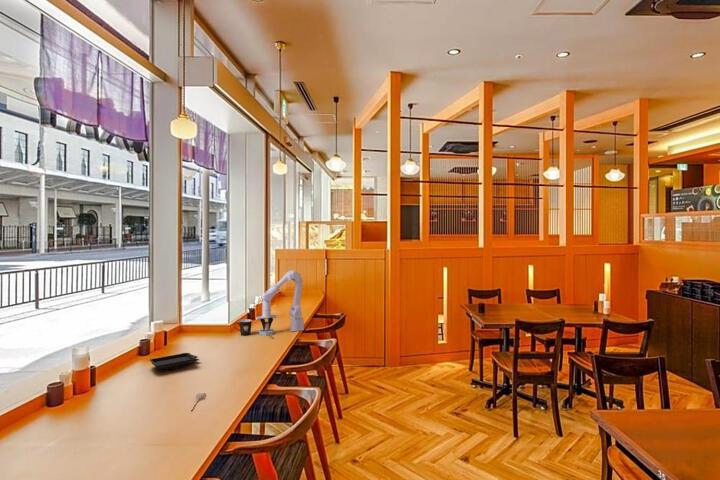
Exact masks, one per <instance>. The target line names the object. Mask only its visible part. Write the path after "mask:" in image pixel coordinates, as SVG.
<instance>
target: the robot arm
mask: <svg viewBox="0 0 720 480" xmlns="http://www.w3.org/2000/svg"><path fill="white" fill-rule="evenodd" d="M288 281H293V282H294V292H293V297H292V298H293V299H292V305H291V306H290V309H289V310H288V311H289V316H290V328H288V330H289V331H291V332H300V331H304V330H305V320H304V317H302V313H303V312H302V307H301V300H302V294H303V293H302V292H303V284H304V283H303V282H304V280H303V278H302V274H301V273H300V272H299V271H298V270H293V269H289V270H288V271H287V272H286V273H285V274H284V276H282V277H281V278H280V280H278V282H277V283H276V284H272V285H271V286H270V287H269V289H267V290H266V291H265V292H263V293H262V295H261V297H260V299H261V301H262V309H261V310H262V311H261V312H262V314H261V315H259V316H255V319H256V321H260V323H261V325H262V329H264V330H265V322H266V320H267V322H269V329H271V326H272V323H273V321H274V319H277V318H278V316H277V314H271V311H272V308H271V307H272V305H271V304H272V303H271V301H272V300H273V297H274V296H276V294H277V293H278V292H279V291H280V288H281V287H282V286H283V285H284V284H285V283H287V282H288Z"/></svg>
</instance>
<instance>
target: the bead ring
mask: <svg viewBox="0 0 720 480" xmlns="http://www.w3.org/2000/svg"><path fill="white" fill-rule="evenodd" d="M274 334H275V329H273V328H270V329H269V331H264V329H263V328H261V329H259V330H258V335H259V336H264V337H265V336H268V337H269V335H271V336H273V335H274Z"/></svg>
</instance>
